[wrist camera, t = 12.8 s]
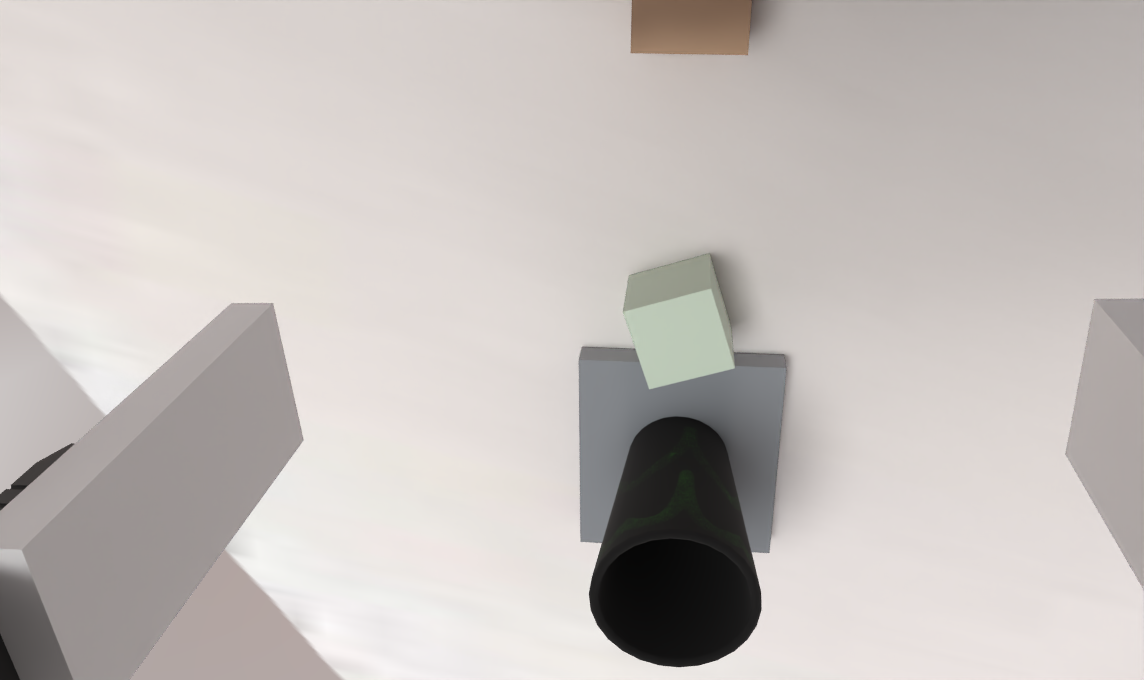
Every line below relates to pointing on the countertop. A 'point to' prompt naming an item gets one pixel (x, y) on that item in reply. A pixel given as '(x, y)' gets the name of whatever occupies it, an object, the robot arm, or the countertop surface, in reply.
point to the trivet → (721, 400)
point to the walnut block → (691, 26)
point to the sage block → (679, 322)
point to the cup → (676, 551)
